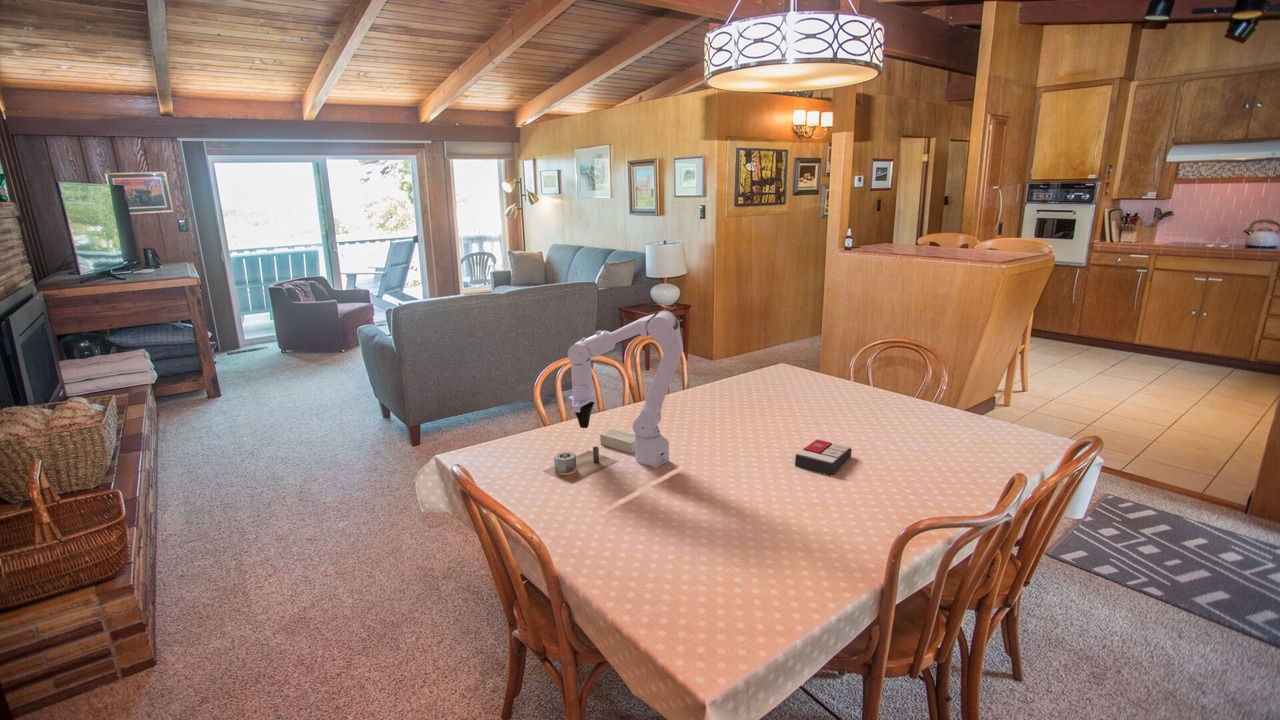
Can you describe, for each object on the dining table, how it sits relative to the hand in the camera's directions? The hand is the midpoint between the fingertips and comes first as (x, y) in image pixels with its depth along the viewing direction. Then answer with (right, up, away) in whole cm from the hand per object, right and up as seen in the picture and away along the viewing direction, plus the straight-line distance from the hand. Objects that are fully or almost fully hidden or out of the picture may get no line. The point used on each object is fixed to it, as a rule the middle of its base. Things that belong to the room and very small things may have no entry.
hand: (584, 427), depth 182 cm
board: (0, -11, -6) cm, 13 cm away
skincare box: (+6, -4, +11) cm, 13 cm away
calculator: (+69, -10, -4) cm, 70 cm away
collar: (-4, -11, -8) cm, 14 cm away
